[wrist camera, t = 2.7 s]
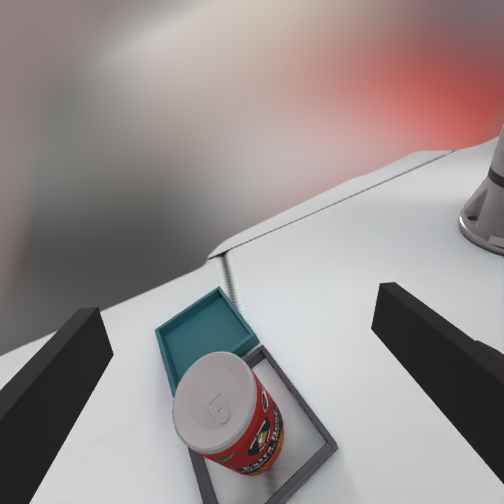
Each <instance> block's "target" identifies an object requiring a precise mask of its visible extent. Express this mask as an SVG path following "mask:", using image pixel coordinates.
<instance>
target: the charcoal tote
mask: <svg viewBox="0 0 504 504" xmlns="http://www.w3.org/2000/svg"><path fill="white" fill-rule="evenodd" d="M265 357H266V358H267V360H268V361H269V363H270V364H271V365H272V367H273V368H274V369H275V371H276V372H277V374H278V375H279V376H280V378H281V379H282V381H283V382H284V383H285V385H286V386H287V388H288V389H289V390H290V392H291V393H292V395H293V396H294V397H295V399H296V400H297V401H298V403H299V404H300V406H301V407H302V408H303V410H304V411H305V413H306V414H307V415H308V417H309V418H310V420H311V421H312V422H313V424H314V425H315V427H316V428H317V429H318V431H319V432H320V434H321V435H322V436H323V438H324V439H325V440H326V443H325V444H324V445H323V446H322V447H321V448H320V449H319V450H318V451H317V452H316V453H315V454H314V455H313V456H312V457H311V458H310V459H309V460H308V461H307V462H306V463H305V464H304V465H303V466H302V467H301V468H300V469H299V470H298V471H297V472H296V473H295V474H294V475H293V476H292V477H291V478H290V479H289V480H288V481H287V482H286V483H285V484H284V485H283V486H282V487H281V488H280V489H279V490H278V491H277V492H276V493H275V494H274V495H273V496H272V497H271V498H270V499H269V500H268V501H267V502H266V503H265V504H284V503H285V502H286V501H287V500H288V499H289V498H290V497H291V496H292V495H293V494H294V493H295V492H296V491H297V490H298V489H299V488H300V487H301V486H302V485H303V484H304V483H305V482H306V481H307V480H308V479H309V478H310V477H311V476H312V475H313V474H314V473H315V472H316V470H317V469H318V468H319V467H320V466H321V465H322V464H323V463H324V462H325V461H326V460H327V459H328V458H329V457H330V456H331V455H332V454H333V453H334V452H335V451H336V450H337V449H338V446H337V444H336V442H335V440H334V439H333V438H332V436H331V435H330V434H329V432H328V431H327V430H326V428H325V427H324V426H323V424H322V423H321V422H320V420H319V419H318V418H317V416H316V415H315V414H314V412H313V411H312V410H311V408H310V407H309V406H308V404H307V403H306V402H305V400H304V399H303V398H302V396H301V395H300V394H299V392H298V391H297V390H296V388H295V387H294V386H293V384H292V383H291V382H290V380H289V379H288V378H287V376H286V375H285V374H284V372H283V371H282V370H281V368H280V367H279V365H278V364H277V363H276V361H275V360H274V359H273V357H272V356H271V355H270V353H269V352H268V351H267V349H266V348H265V347H264V345H261V346H260V348H257V349H256V350H255V351H254V352H252V353H251V354H250V355H249V356H247V357H246V358H245V359H244V360H243V361H244V362H245V363H246V364H247V365H248V366H249V367H250V369H251V368H252V367H254V366H255V365H256V364H257V363H259V362H260V361H261V360H262V359H264V358H265ZM188 450H189V453H190V457H191V460H192V464H193V468H194V471H195V475H196V479H197V482H198V486H199V490H200V493H201V497H202V500H203V504H218V503H217V500H216V497H215V493H214V490H213V487H212V484H211V481H210V477H209V474H208V471H207V468H206V465H205V461H204V458H203V456H202V455H200V454H199V453H197V452H195V451H193V450H192V449H191V448H189V447H188Z"/></svg>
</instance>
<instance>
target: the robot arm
mask: <svg viewBox="0 0 504 504" xmlns="http://www.w3.org/2000/svg"><path fill="white" fill-rule="evenodd" d="M459 227H460V230H461V232H462V233H463V234H464V235H465V236H466V237H467V238H468V239H469V240H471V241H472V242H474V243H475V244H477V245H479V246H481V247H483V248H485V249H487V250H490V251H493V252H495V253H499V254H502V255H504V124H503V127H502V131H501V134H500V137H499V140H498V143H497V146H496V149H495V153H494V156H493V159H492V162H491V166H490V169H489V172H488V175H487V177H486V179H485V180H484V181H483V183H482V184H481V185H480V186H479V188H478V189H477V190H476V191H475V193H474V194H473V195H472V197H471V198H470V199H469V200H468V202H467V203H466V204H465V206H464V208H463V209H462V211H461V215H460V218H459ZM371 329H372V330H373V332H374V333H375V334H376V335H377V336H378V337H379V339H380V340H381V341H382V342H383V343H384V344H385V346H386V347H387V348H388V349H389V350H390V352H391V353H392V354H393V355H394V356H395V357H396V359H397V360H398V361H399V362H400V363H401V364H402V366H403V367H404V368H405V369H406V370H407V371H408V373H409V374H410V375H411V376H412V377H413V378H414V380H415V381H416V382H417V383H418V384H419V385H420V387H421V388H422V389H423V390H424V391H425V392H426V394H427V395H428V396H429V397H430V398H431V400H432V401H433V402H434V403H435V404H436V405H437V407H438V408H439V409H440V410H441V411H442V412H443V414H444V415H445V416H446V417H447V418H448V419H449V421H450V422H451V423H452V424H453V425H454V426H455V428H456V429H457V430H458V431H459V432H460V433H461V435H462V436H463V437H464V438H465V439H466V440H467V442H468V443H469V444H470V445H471V446H472V447H473V449H474V450H475V451H476V452H477V453H478V455H479V456H480V457H481V458H482V459H483V460H484V462H485V463H486V464H487V465H488V466H489V467H490V469H491V470H492V471H493V472H494V473H495V474H496V476H497V477H498V478H499V479H500V480H501V481H502V483H503V484H504V354H502V353H501V352H499V351H498V350H496V349H494V348H492V347H490V346H488V345H486V344H484V343H482V342H480V341H474V340H473V339H472V338H470V337H469V336H468V335H466V334H465V333H464V332H462V331H461V330H459V329H458V328H457V327H455V326H454V325H453V324H451V323H450V322H449V321H447V320H446V319H444V318H443V317H442V316H440V315H439V314H438V313H436V312H435V311H434V310H432V309H431V308H429V307H428V306H427V305H425V304H424V303H423V302H421V301H420V300H418V299H417V298H416V297H414V296H413V295H412V294H410V293H409V292H408V291H406V290H405V289H403V288H402V287H401V286H399V285H398V284H397V283H395V282H391V283H380V286H379V291H378V296H377V301H376V306H375V312H374V317H373V322H372V327H371ZM113 355H114V354H113V351H112V348H111V345H110V342H109V339H108V336H107V333H106V329H105V326H104V323H103V320H102V317H101V314H100V311H99V308H98V307H91V308H80V309H79V310H78V311H77V312H76V313H75V314H74V315H73V316H72V317H71V318H70V319H69V320H68V321H67V322H66V323H65V324H64V325H63V326H62V328H60V329H59V330H58V331H57V332H56V333H55V335H54V336H53V337H52V338H51V339H50V340H49V341H48V342H47V343H46V344H45V345H44V346H43V347H42V348H41V349H40V350H39V351H38V352H37V353H36V354H35V355H34V356H33V357H32V358H31V359H30V360H29V361H28V362H27V363H26V364H25V365H24V367H23V368H22V369H21V370H20V371H19V372H18V373H17V374H16V375H15V376H14V377H13V378H12V379H11V380H10V381H9V382H8V383H7V384H6V385H5V386H4V387H3V388H2V389H1V390H0V504H29V503H30V501H31V499H32V498H33V496H34V494H35V492H36V491H37V489H38V487H39V485H40V484H41V482H42V480H43V478H44V477H45V475H46V473H47V471H48V470H49V468H50V466H51V464H52V463H53V461H54V459H55V457H56V455H57V454H58V452H59V450H60V448H61V447H62V445H63V443H64V441H65V440H66V438H67V436H68V434H69V433H70V431H71V429H72V427H73V426H74V424H75V422H76V420H77V418H78V417H79V415H80V413H81V411H82V410H83V408H84V406H85V404H86V403H87V401H88V399H89V397H90V396H91V394H92V392H93V390H94V389H95V387H96V385H97V383H98V381H99V380H100V378H101V376H102V374H103V373H104V371H105V369H106V367H107V366H108V364H109V362H110V360H111V359H112V357H113Z"/></svg>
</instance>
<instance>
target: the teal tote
mask: <svg viewBox="0 0 504 504" xmlns="http://www.w3.org/2000/svg"><path fill="white" fill-rule="evenodd" d="M155 332H156V336H157V340H158V343H159V347H160V351H161V354H162V358H163V362H164V365H165V369H166V373H167V376H168V380H169V384H170V387H171V391H172V395H173V397H175V393H176V390H177V387H178V385H179V382H180V381H181V379H182V377H183V376H184V374H185V373H186V371H187V370H188V369H189V368H190V367H191V366H192V365H193V364H194V363H195V362H196V361H197V360H199V359H200V358H202V357H203V356H205V355H207V354H210V353H214V352H221V351H223V352H230V353H232V354H235V355H237V356H238V357H240V358H241V357H242V356H243V355H244V354H246V353H247V352H248V351H249V350H251V349H252V348H253V347H255V346H256V345H257V344H258V343H260V341H259V340H258V338H257V336H256V335H255V333H254V332H253V330H252V329H251V328H250V326H249V325H248V324H247V322H246V321H245V320H244V318H243V317H242V316H241V314H240V313H239V312H238V310H237V309H236V308H235V306H234V305H233V304H232V302H231V301H230V300H229V298H228V297H227V296H226V294H225V293H224V292H223V290H222V289H221V288H220V286H219V287H217V288H216V289H214V290H213V291H211V292H210V293H208V294H207V295H205V296H204V297H202V298H201V299H199V300H198V301H197V302H195V303H194V304H192V305H191V306H189V307H188V308H186V309H185V310H183V311H182V312H180V313H179V314H177V315H176V316H174V317H173V318H171V319H170V320H169V321H167V322H166V323H164V324H163V325H161V326H160V327H158V328H157V329H155Z"/></svg>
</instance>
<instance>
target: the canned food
mask: <svg viewBox="0 0 504 504" xmlns="http://www.w3.org/2000/svg"><path fill="white" fill-rule="evenodd" d="M173 422H174V426H175V429H176V431H177V434H178V436H179V437H180V439H181V440H182V441H183V442H184V444H186V445H187V446H188V447H189V448H191V449H192V450H193V451H195V452H197V453H199V454H200V455H202V456H204V457H206V458H208V459H210V460H213V461H215V462H217V463H219V464H221V465H223V466H225V467H227V468H229V469H231V470H233V471H235V472H237V473H240V474H243V475H256V474H259V473H261V472H263V471H265V470H266V469H267V468H268V467H270V466H271V465H272V463H273V462H274V461H275V459H276V458H277V456H278V454H279V451H280V449H281V445H282V441H283V421H282V417H281V414H280V411H279V409H278V407H277V405H276V404H275V402H274V401H273V399H272V398H271V396H270V395H269V394H268V392H267V391H266V389H265V388H264V387H263V385H262V384H261V382H260V381H259V380H258V378H257V377H256V375H255V374H254V373H253V371H252V370H251V369H250V367H249V366H248V365H247V364H246V363H245V362H244V361H243V360H242V359H241V358H240V357H238V356H237V355H235V354H232V353H230V352H223V351H221V352H214V353H210V354H207V355H205V356H203V357H202V358H200V359H199V360H197V361H196V362H195V363H194V364H193V365H192V366H191V367H190V368H189V369H188V370H187V371H186V373H185V374H184V376H183V377H182V379H181V381H180V382H179V385H178V387H177V390H176V393H175V397H174V401H173Z"/></svg>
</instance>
